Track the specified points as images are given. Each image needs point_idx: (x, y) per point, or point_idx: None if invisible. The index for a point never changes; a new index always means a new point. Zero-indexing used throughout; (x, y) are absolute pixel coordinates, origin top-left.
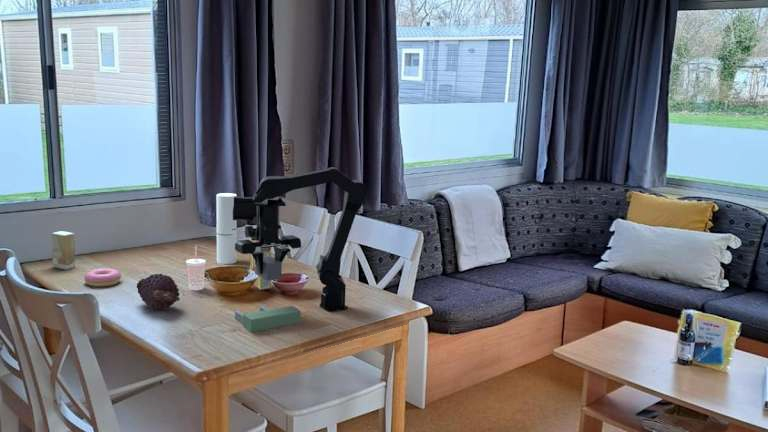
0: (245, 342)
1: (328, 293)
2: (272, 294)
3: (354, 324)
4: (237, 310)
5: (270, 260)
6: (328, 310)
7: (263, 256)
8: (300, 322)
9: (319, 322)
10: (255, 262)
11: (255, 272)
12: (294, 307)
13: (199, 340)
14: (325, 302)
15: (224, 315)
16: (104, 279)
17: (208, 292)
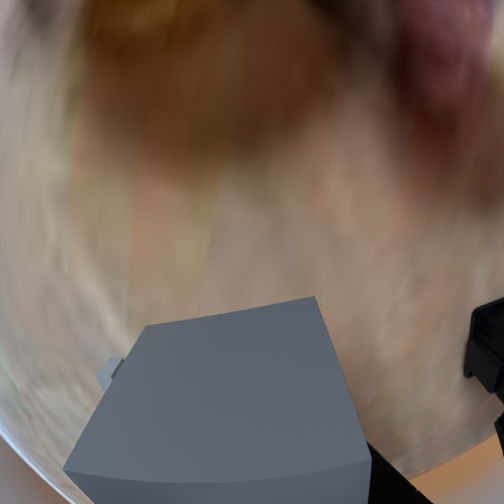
0: None
1: (500, 399)
2: (342, 66)
3: (448, 453)
4: (105, 377)
5: None
6: (464, 371)
7: (213, 486)
8: None
9: (384, 445)
10: (95, 412)
11: (142, 334)
12: None
13: (50, 444)
14: (476, 376)
15: (71, 316)
16: None
17: (52, 4)
